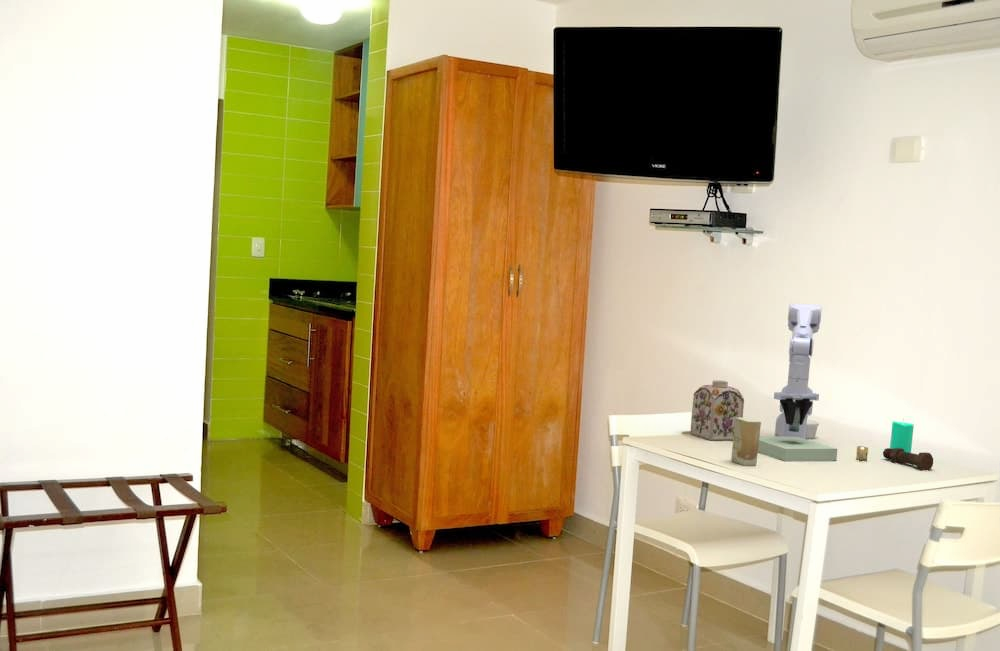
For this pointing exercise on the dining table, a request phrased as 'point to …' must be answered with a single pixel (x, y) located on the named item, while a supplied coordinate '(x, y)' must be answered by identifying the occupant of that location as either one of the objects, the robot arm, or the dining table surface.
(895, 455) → the bolt
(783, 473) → the dining table surface
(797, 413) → the tall pin
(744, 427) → the skincare box
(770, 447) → the collar plate
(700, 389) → the decorative jar
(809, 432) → the ramekin
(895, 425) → the candle
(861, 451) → the short pin
